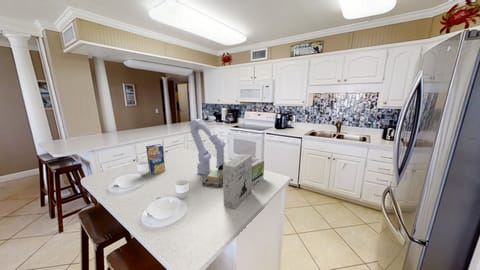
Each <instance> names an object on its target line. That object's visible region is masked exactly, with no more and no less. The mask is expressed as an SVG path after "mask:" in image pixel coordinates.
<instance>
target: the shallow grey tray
mask: <svg viewBox="0 0 480 270" xmlns="http://www.w3.org/2000/svg"><path fill="white" fill-rule="evenodd" d="M201 185H202V186H204V187H212V188H219V189H221V188H222V187H223V178H221V180H220V181H219V183H212V182H208V178H207V177H205V178H204V179H203V181H202V182H201Z"/></svg>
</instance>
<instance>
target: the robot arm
mask: <svg viewBox="0 0 480 270" xmlns="http://www.w3.org/2000/svg"><path fill="white" fill-rule="evenodd" d="M189 127H190V134H191V136H192V138H193V141H194V144H195V146H196V149H197V151H198V155H197V157H198V162H197V174H199V175H206V176H208V175H209V174H210V173H211V172H212V171H213V170H212V169H211V168H210V167H211V166H210V164H211V163H210V160H211V158H212V155H211V154H210V153H209V151H208V150H207V149H206V147H205V144H204V143H203V140H202V138H201V135H200V133H199V132H200V130H202V131H203V132H204V133H205V134H206V135H207V136H208V137H209V138H208V139H209V140H210V142H211V143H212V144H213V145H214V148H215V150H216V151H215V152H216V162H215V163H216V165H215V168H216V169H217V170H223V164H225V163H227V162H226V161H225V150H224V149H225V146H226V143H225V142H224V141H223V140H221V139H220V138H219V137H218V135H217V134H216V133H213V132H212V131H211V130H210V128H209V127H208V126H207V124H206V122H205V121H204V120H203V119H202V118H196V119H192V120H191V121H190V123H189Z"/></svg>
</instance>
